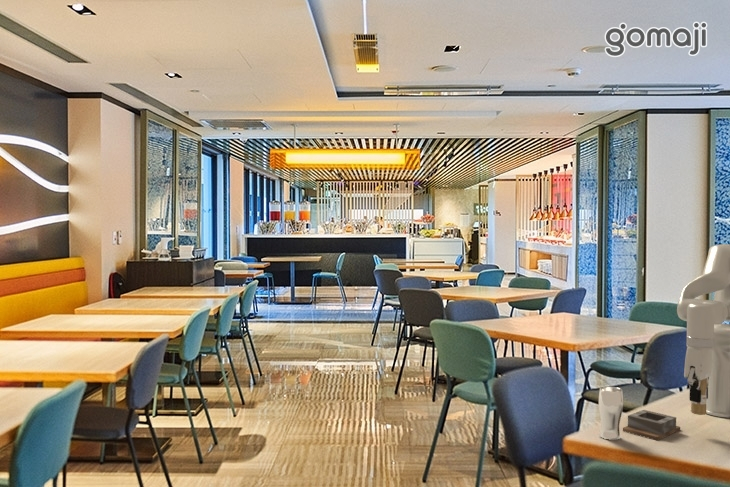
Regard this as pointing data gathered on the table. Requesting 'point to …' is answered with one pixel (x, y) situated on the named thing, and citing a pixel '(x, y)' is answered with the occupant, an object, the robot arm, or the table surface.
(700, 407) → the sprinkles bottle
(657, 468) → the table surface
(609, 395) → the beer glass
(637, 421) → the socket holder
